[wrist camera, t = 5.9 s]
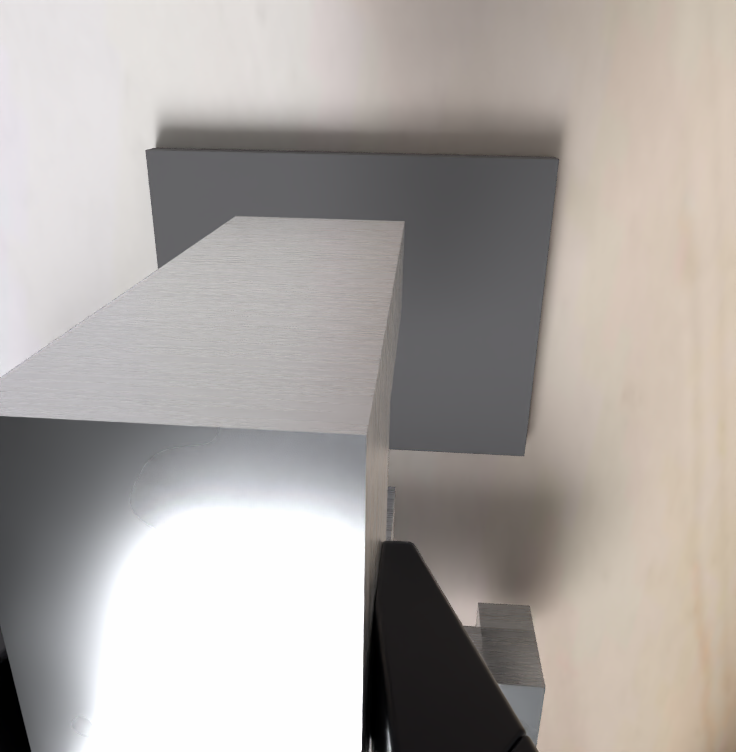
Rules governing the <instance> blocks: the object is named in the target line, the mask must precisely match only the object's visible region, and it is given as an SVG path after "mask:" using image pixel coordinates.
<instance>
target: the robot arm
mask: <svg viewBox="0 0 736 752" xmlns="http://www.w3.org/2000/svg"><path fill="white" fill-rule="evenodd" d="M0 752H31V748H30V744H29V740H28V736H27V732H26V728H25V724H24V720H23V716H22V712H21V708H20V704H19V700H18V695H17V691H16V687H15V683H14V679H13V675H12V671H11V667H10V663H9V659H8V655H7V651H6V647H5V642H4V638H3V634H2V630H1V626H0ZM371 752H538V750H537V748H536V747H535V745H534V743H533V741H532V740H531V738H530V737H529V736H527V735H526V731H525V729H524V727H523V725H522V724H521V722H520V720H519V719H518V717H517V715H516V714H515V712H514V710H513V709H512V707H511V705H510V704H509V702H508V700H507V699H506V697H505V695H504V694H503V692H502V690H501V689H500V687H499V685H498V684H497V682H496V680H495V678H494V677H493V675H492V673H491V672H490V670H489V668H488V667H487V665H486V663H485V662H484V660H483V658H482V657H481V655H480V653H479V652H478V650H477V648H476V647H475V645H474V643H473V642H472V640H471V638H470V637H469V635H468V633H467V632H466V630H465V628H464V627H463V625H462V623H461V622H460V620H459V618H458V617H457V615H456V613H455V612H454V610H453V608H452V607H451V605H450V603H449V601H448V600H447V598H446V596H445V595H444V593H443V591H442V590H441V588H440V586H439V585H438V583H437V581H436V580H435V578H434V576H433V575H432V573H431V571H430V570H429V568H428V566H427V565H426V563H425V561H424V560H423V558H422V556H421V555H420V553H419V551H418V550H417V548H416V546H415V545H414V544H413V543H411V542H403V541H384V542H382V548H381V555H380V563H379V571H378V579H377V586H376V595H375V603H374V624H373V666H372V709H371Z"/></svg>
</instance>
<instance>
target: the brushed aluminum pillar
mask: <svg viewBox="0 0 736 752" xmlns="http://www.w3.org/2000/svg"><path fill="white" fill-rule="evenodd" d="M404 228H405V221H379V220H346V219H314V218H281V217H248V216H235V217H234V218H232V219H231V220H229V221H228V222H226V223H225V224H223V225H222V226H220V227H219V228H218V229H216V230H215V231H213V232H212V233H210V234H209V235H207V236H206V237H204V238H203V239H201V240H200V241H199V242H197V243H196V244H194V245H193V246H191V247H190V248H188V249H187V250H185V251H184V252H183V253H181V254H180V255H178V256H177V257H175V258H174V259H172V260H171V261H169V262H168V263H167V264H165V265H164V266H162V267H161V268H159V269H158V270H156V271H155V272H153V273H152V274H150V275H149V276H148V277H146V278H145V279H143V280H142V281H140V282H139V283H137V284H136V285H134V286H133V287H132V288H130V289H129V290H127V291H126V292H124V293H123V294H121V295H120V296H118V297H117V298H115V299H114V300H113V301H111V302H110V303H108V304H107V305H105V306H104V307H102V308H101V309H99V310H98V311H97V312H95V313H94V314H92V315H91V316H89V317H88V318H86V319H85V320H83V321H82V322H80V323H79V324H78V325H76V326H75V327H73V328H72V329H70V330H69V331H67V332H66V333H64V334H63V335H62V336H60V337H59V338H57V339H56V340H54V341H53V342H51V343H50V344H48V345H47V346H45V347H44V348H43V349H41V350H40V351H38V352H37V353H35V354H34V355H32V356H31V357H29V358H28V359H27V360H25V361H24V362H22V363H21V364H19V365H18V366H16V367H15V368H13V369H12V370H10V371H9V372H8V373H6V374H5V375H3V376H2V377H0V626H1V630H2V634H3V638H4V642H5V647H6V651H7V655H8V659H9V663H10V667H11V671H12V675H13V679H14V683H15V687H16V691H17V695H18V700H19V704H20V708H21V712H22V716H23V720H24V724H25V728H26V732H27V736H28V740H29V744H30V748H31V752H371V709H372V666H373V624H374V603H375V595H376V586H377V579H378V571H379V563H380V555H381V548H382V542H384V541H393V534H394V506H395V487H388V458H389V426H390V399H391V391H392V383H393V375H394V367H395V359H396V350H397V342H398V334H399V326H400V318H401V310H402V284H403V256H404Z"/></svg>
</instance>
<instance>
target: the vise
mask: <svg viewBox="0 0 736 752" xmlns="http://www.w3.org/2000/svg"><path fill="white" fill-rule="evenodd" d="M463 627H464V628H465V630H466V632H467V633H468V635H469V637H470V638H471V640H472V642H473V643H474V645H475V647H476V648H477V650H478V652H479V653H480V655H481V657H482V658H483V660H484V662H485V663H486V665H487V667H488V668H489V670H490V672H491V673H492V675H493V677H494V678H495V680H496V682H497V684H498V685H499V687H500V689H501V690H502V692H503V694H504V695H505V697H506V699H507V700H508V702H509V704H510V705H511V707H512V709H513V710H514V712H515V714H516V715H517V717H518V719H519V720H520V722H521V724H522V725H523V727H524V729H525V731H526V735H527V736H529V737H530V738H531V740H532V741H533V743H534V745H535V747H536V745H537V738H538V732H539V725H540V719H541V713H542V706H543V700H544V693H545V684H544V678H543V673H542V668H541V663H540V658H539V652H538V647H537V642H536V637H535V632H534V626H533V621H532V616H531V611H530V606H523V605H508V604H493V603H478V610H477V620H476V627H474V626H463Z"/></svg>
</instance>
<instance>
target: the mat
mask: <svg viewBox="0 0 736 752" xmlns="http://www.w3.org/2000/svg"><path fill="white" fill-rule="evenodd" d="M146 159H147V168H148V178H149V187H150V196H151V206H152V215H153V224H154V234H155V243H156V253H157V262H158V269H159V268H161V267H162V266H164V265H165V264H167V263H168V262H169V261H171V260H172V259H174V258H175V257H177V256H178V255H180V254H181V253H183V252H184V251H185V250H187V249H188V248H190V247H191V246H193V245H194V244H196V243H197V242H199V241H200V240H201V239H203V238H204V237H206V236H207V235H209V234H210V233H212V232H213V231H215V230H216V229H218V228H219V227H220V226H222V225H223V224H225V223H226V222H228V221H229V220H231V219H232V218H234V217H235V216H248V217H281V218H314V219H346V220H379V221H405V228H404V256H403V284H402V310H401V318H400V326H399V334H398V342H397V350H396V359H395V367H394V375H393V383H392V391H391V399H390V426H389V449H395V450H415V451H434V452H453V453H473V454H492V455H511V456H524V453H525V445H526V436H527V428H528V419H529V411H530V402H531V394H532V385H533V377H534V368H535V360H536V351H537V343H538V334H539V326H540V317H541V309H542V300H543V292H544V283H545V275H546V266H547V257H548V249H549V240H550V232H551V223H552V215H553V206H554V198H555V189H556V181H557V172H558V164H559V159H557V158H555V157H530V156H486V155H442V154H398V153H353V152H309V151H265V150H221V149H177V148H152V149H148V150H146Z"/></svg>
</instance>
